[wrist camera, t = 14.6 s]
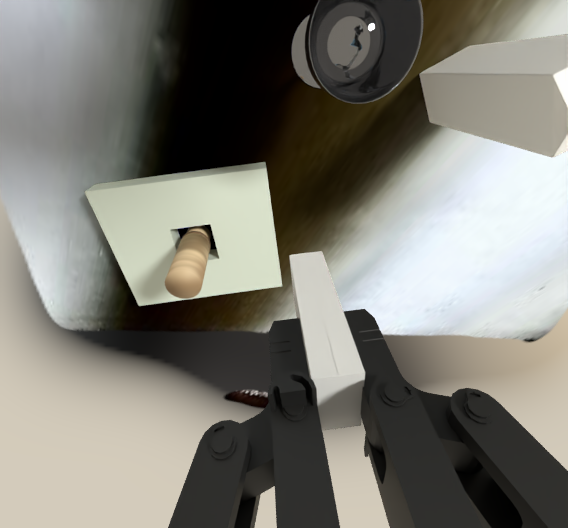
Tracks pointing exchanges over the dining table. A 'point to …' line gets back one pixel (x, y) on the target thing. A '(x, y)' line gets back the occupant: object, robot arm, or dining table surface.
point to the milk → (504, 93)
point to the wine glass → (358, 46)
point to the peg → (189, 263)
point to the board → (188, 213)
